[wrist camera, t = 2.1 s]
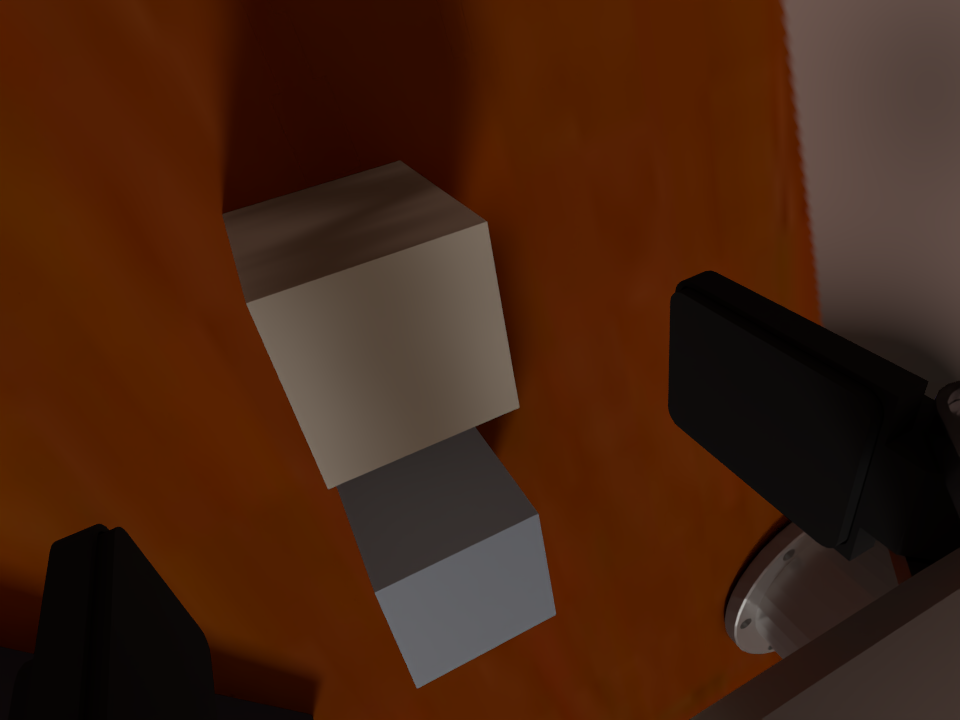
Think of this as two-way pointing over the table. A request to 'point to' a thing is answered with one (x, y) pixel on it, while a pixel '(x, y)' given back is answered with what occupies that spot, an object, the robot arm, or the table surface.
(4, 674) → the red and white box
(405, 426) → the maple block
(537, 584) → the gray block
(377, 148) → the table surface
